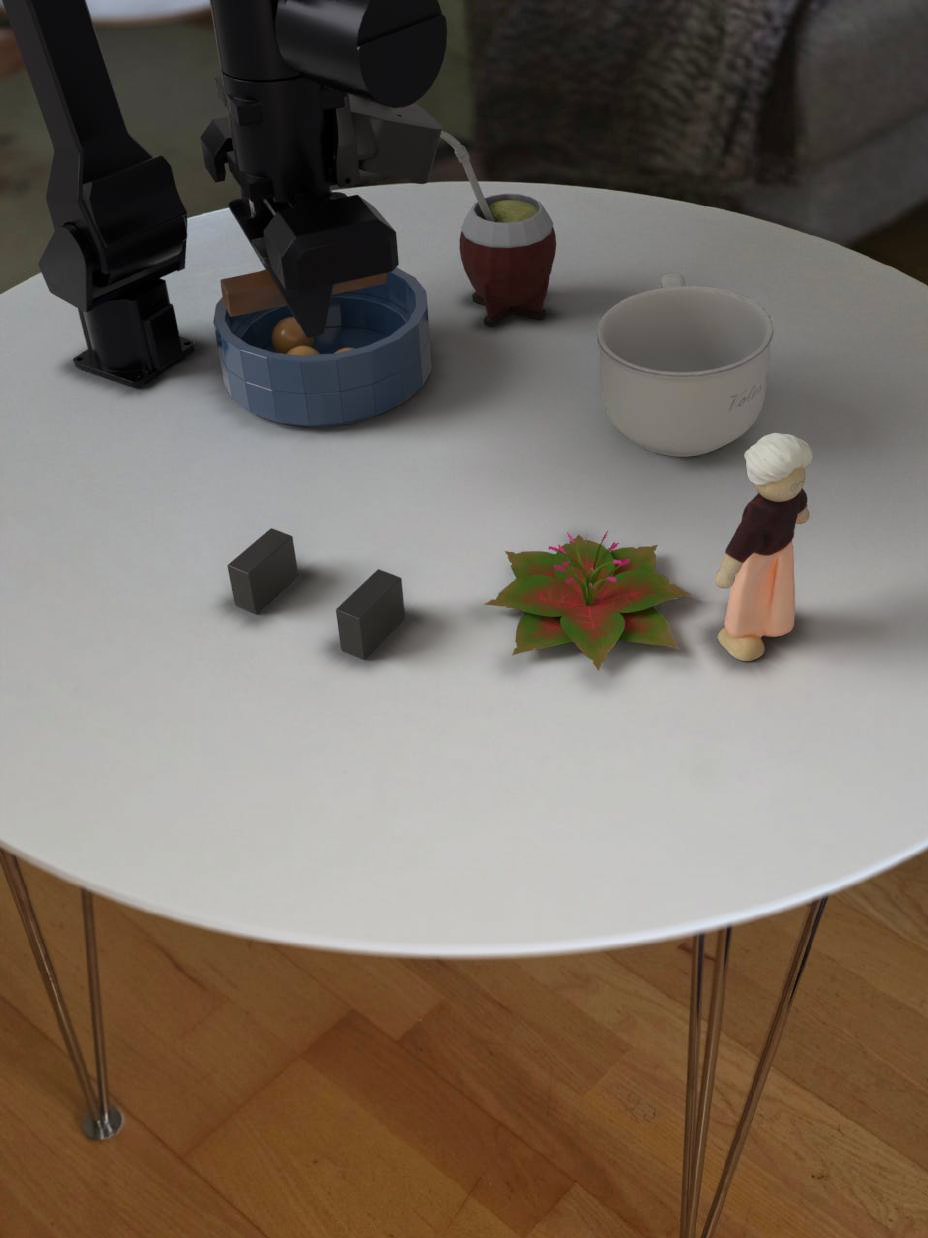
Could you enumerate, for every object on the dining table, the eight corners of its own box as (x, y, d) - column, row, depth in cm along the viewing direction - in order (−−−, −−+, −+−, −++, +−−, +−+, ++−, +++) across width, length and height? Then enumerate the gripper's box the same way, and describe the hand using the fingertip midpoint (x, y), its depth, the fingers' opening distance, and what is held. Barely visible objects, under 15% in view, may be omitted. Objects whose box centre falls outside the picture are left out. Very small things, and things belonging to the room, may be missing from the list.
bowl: (183, 397, 96) (169, 326, 92) (310, 307, 105) (301, 240, 101) (351, 454, 90) (343, 382, 86) (470, 354, 99) (467, 284, 95)
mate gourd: (571, 299, 104) (574, 102, 94) (519, 345, 99) (516, 142, 89) (488, 277, 107) (482, 84, 98) (433, 321, 103) (421, 123, 93)
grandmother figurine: (763, 683, 72) (791, 487, 64) (696, 658, 74) (715, 464, 65) (816, 600, 77) (850, 408, 69) (752, 579, 79) (777, 389, 70)
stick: (230, 317, 78) (227, 293, 77) (223, 302, 79) (219, 278, 78) (387, 283, 81) (386, 259, 80) (378, 269, 82) (377, 245, 81)
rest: (234, 605, 79) (226, 565, 77) (277, 567, 81) (271, 527, 79) (364, 660, 75) (359, 619, 73) (405, 618, 77) (401, 577, 75)
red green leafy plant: (679, 537, 82) (684, 474, 79) (710, 675, 73) (717, 609, 70) (478, 545, 82) (476, 483, 79) (485, 684, 73) (482, 620, 70)
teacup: (756, 485, 85) (770, 373, 80) (584, 470, 87) (586, 360, 82) (765, 369, 96) (778, 264, 90) (610, 359, 97) (614, 255, 92)
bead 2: (275, 346, 95) (289, 344, 92) (316, 346, 96) (330, 344, 93) (276, 390, 95) (290, 389, 92) (316, 390, 96) (331, 389, 94)
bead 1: (320, 354, 96) (323, 337, 99) (297, 319, 95) (300, 303, 97) (284, 373, 97) (287, 356, 100) (261, 339, 96) (265, 322, 98)
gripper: (485, 91, 67) (495, 370, 77) (364, -10, 80) (386, 239, 90) (265, 134, 64) (306, 417, 74) (177, 21, 77) (222, 275, 88)
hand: (310, 329), depth 82 cm, fingers closed on stick, 1 cm apart
